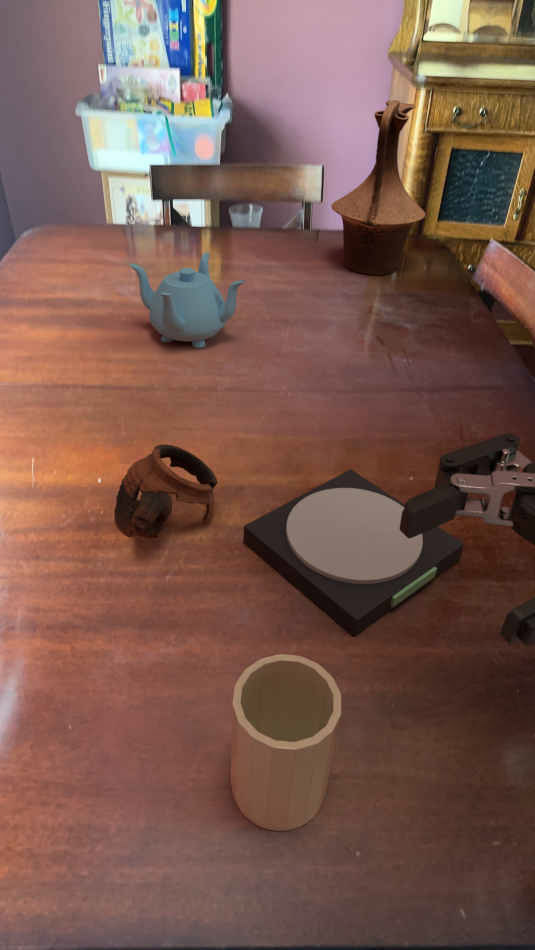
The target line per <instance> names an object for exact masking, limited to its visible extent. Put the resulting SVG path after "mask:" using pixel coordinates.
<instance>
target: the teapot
mask: <svg viewBox="0 0 535 950" xmlns="http://www.w3.org/2000/svg"><path fill="white" fill-rule="evenodd" d="M209 261H210V253H209V251H206V252H205V251H204V252H203V254H202V255H201V257H200V261H199V264H198V269H197V271H196V270H195V269H194V268H192V267H182V268H180V269H179V270H178V271H175V272H172V273H169V274H167V275H166V276H165V277H164V278H163V279H162V280H161V281H160V283H159V285H158V287H157V289H156V290H155V291H154V290H153V289H152V287H151V285H150V282H149V277H148V274H147V272H146V270H145V269H144V268H143V267H142V266H141V265H139V264H136V263H132V262H130V263H128V264H129V266H130V267H131V268H132V269H133V270H134V271H135V273H136V275H137V277H138V282H139V294H140V299H141V301H142V304H143V305H144V306H145V307H146V309H148V310H149V312H148V319H149V323H150V324H151V326H152V327H153V328H154V329H155V330H156V332H158V333H159V334H160V335H162V336H161V338H160V341H161V342H163V343H172V342H174V341H179V342H191V346H192V347H193V348H196V349H197V348H198V349H200V348H204V347H206V342H205V340H207V339H210V338H212V337H214V336H216V335H217V334H218V333H219V332H220V331H221V330H222V329H223V328H224V326H225V325H226V324H227V321H229V320H230V319H231V318H232V317H233V316H234V314H235V312H236V309H237V293H238V289H239V287H240V286H241V285H242V284H244V283H245V282H246V279H240V280H235V281H233V282H231V283H230V284H229V286H228V289H227V295H226V300H225V301H224V298H223V296H222V294H221V292H220V290H219V288H218V287H217V285H216V284H215V282H214V281H213V280H212V279H211V276H210V269H209Z"/></svg>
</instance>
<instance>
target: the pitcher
mask: <svg viewBox="0 0 535 950" xmlns="http://www.w3.org/2000/svg"><path fill="white" fill-rule="evenodd" d="M385 105H386V107H385V109H384V110H377V111H375V112H374V119H375V122H376V124H377V126H378V134H377V135H378V136H377V143H376V150H375V151H376V154H375V164H374V165H373V168H372V170H371V172H370V174H368V176H367V177H366V179H364V181H362V182H361V183H360V184H359V185H358V186H356V188H354V189H353V190H352V191H349V192H348V193H347V194H345V195H344V196H342V197H340V198H338V199H337V200H335V201H333V202H332V204H331V209H332V211H334V212H335V213H336V214H338V215H340V218H341V220H342V235H343V236H342V239H343V245H342V246H343V252H342V259H341V262H342V265H343V266H344V267H345V268H348V269H349V270H352V271H354V272H357V273H362V274H367V275H378V276H379V275H388V274H392V273H395V272H396V271H398V270H399V268H400V262H401V258H402V254H403V251H404V249H405V246H406V244H407V241H408V237H409V235H410V232H411V230H412V227H413V226H414V224H415V223H417V222H419V221H422V220H423V219H425V217H426V212H425V210H424V209H423V208H422V207H421V206H420V205H418V203H417V202H416V201H415V200H414V199H413V198H412V197H411V196H410V194H409V193H408V191H407V189H406V188H405V186H404V185H403V182H402V179H401V177H400V171H399V163H398V151H399V141H400V134H401V131H402V130H403V129H404V127H405V125H406V124H407V123H408V121H409V119H410V116H409V115H408V113H409V112H411V111H413V110H414V109H416V105H415V104H414V103H406V102H401V101H400V100H398V99H393V100H387V101H385Z"/></svg>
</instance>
